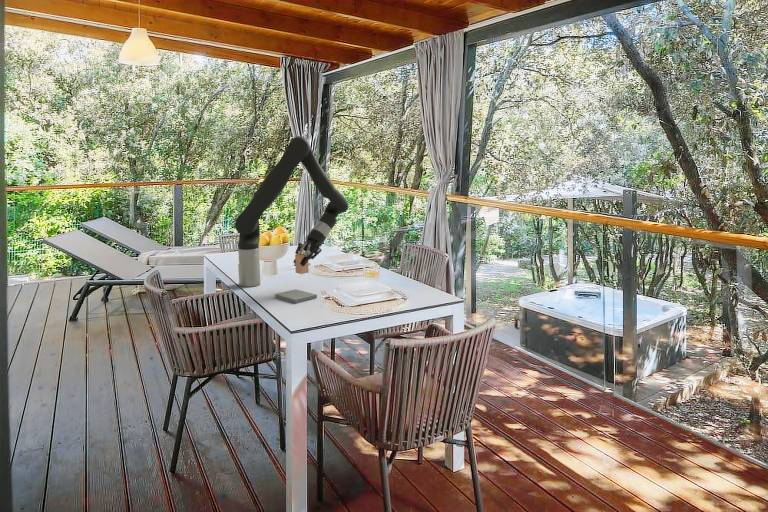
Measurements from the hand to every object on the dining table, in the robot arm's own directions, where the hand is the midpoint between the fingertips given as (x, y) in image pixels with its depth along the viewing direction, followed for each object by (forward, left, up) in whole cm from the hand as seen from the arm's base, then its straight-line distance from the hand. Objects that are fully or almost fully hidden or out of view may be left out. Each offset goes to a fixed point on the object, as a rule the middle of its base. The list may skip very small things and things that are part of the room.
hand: (298, 264), depth 237 cm
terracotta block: (0, +2, -4) cm, 5 cm away
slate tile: (+7, -8, -12) cm, 16 cm away
